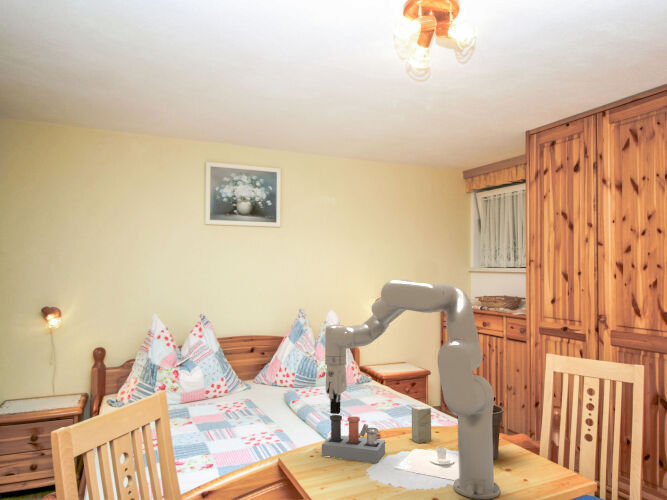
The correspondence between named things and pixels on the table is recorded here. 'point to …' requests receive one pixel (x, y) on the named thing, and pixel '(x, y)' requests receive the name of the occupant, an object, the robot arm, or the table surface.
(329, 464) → the table surface
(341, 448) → the socket board
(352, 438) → the plug red
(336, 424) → the plug black
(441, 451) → the teacup and saucer
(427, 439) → the skincare box
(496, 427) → the plant pot
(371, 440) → the plug grey
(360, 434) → the grey white bent piece
